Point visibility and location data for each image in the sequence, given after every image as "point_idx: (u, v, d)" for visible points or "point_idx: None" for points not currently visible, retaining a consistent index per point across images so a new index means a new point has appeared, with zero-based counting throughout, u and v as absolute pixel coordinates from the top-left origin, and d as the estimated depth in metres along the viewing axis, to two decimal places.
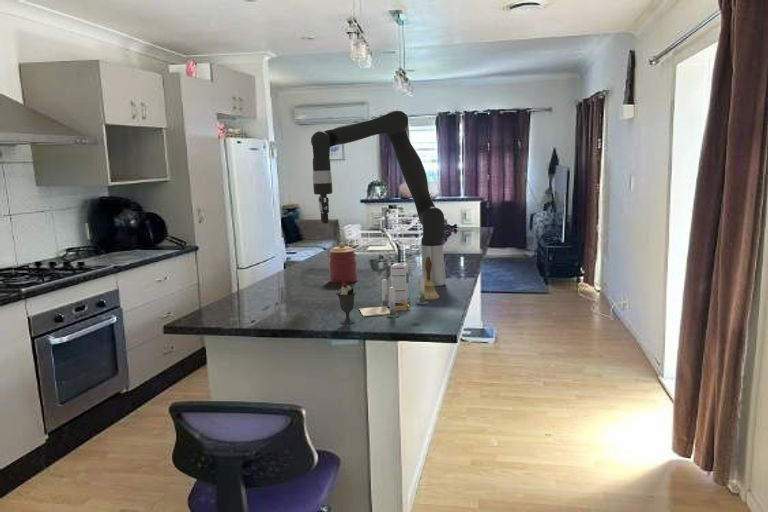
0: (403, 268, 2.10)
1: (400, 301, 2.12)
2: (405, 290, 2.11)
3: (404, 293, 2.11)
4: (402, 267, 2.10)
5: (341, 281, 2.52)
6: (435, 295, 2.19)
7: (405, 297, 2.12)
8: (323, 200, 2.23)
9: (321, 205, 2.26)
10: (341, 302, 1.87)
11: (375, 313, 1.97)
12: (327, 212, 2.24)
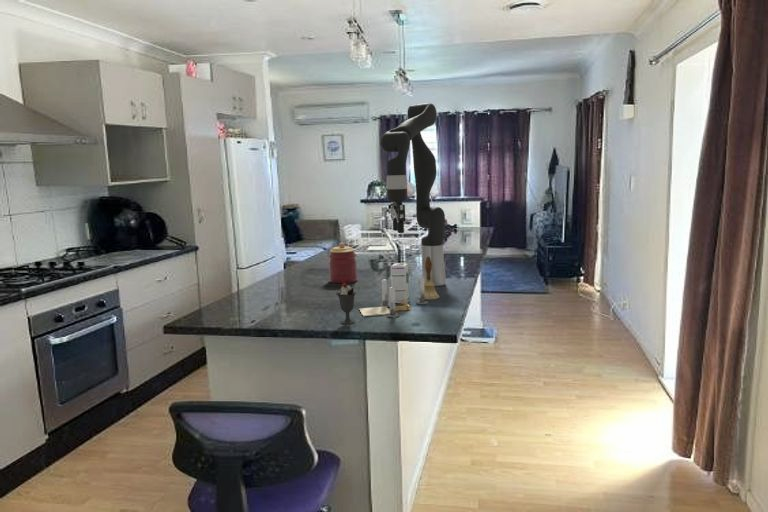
0: (403, 268, 2.10)
1: (400, 301, 2.12)
2: (405, 290, 2.11)
3: (404, 293, 2.11)
4: (402, 267, 2.10)
5: (341, 281, 2.52)
6: (435, 295, 2.19)
7: (405, 297, 2.12)
8: (400, 208, 2.03)
9: (396, 213, 2.06)
10: (341, 302, 1.87)
11: (375, 313, 1.97)
12: (403, 221, 2.04)
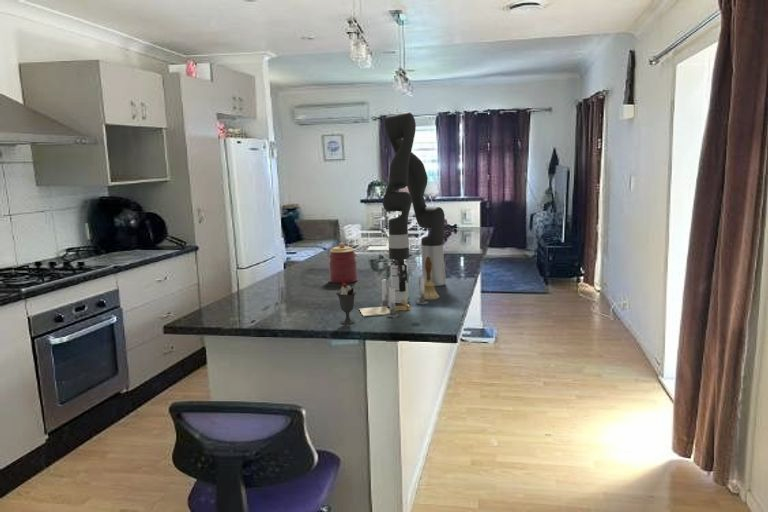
0: None
1: (400, 301, 2.12)
2: (405, 290, 2.11)
3: (404, 293, 2.11)
4: None
5: (341, 281, 2.52)
6: (435, 295, 2.19)
7: (405, 297, 2.11)
8: (401, 268, 2.06)
9: None
10: (341, 302, 1.87)
11: (375, 313, 1.97)
12: (405, 280, 2.08)
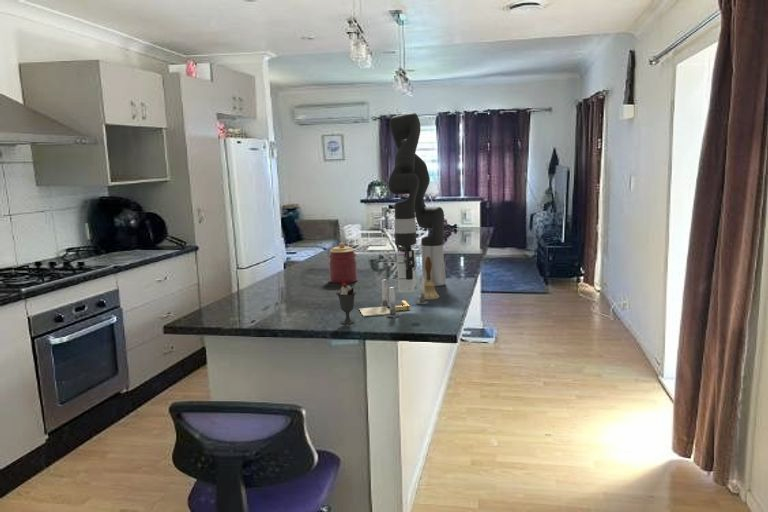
0: None
1: (407, 290, 1.99)
2: None
3: (411, 281, 1.99)
4: None
5: (341, 281, 2.52)
6: (435, 295, 2.19)
7: (412, 286, 1.99)
8: (408, 254, 1.93)
9: (404, 258, 1.97)
10: (341, 302, 1.87)
11: (375, 313, 1.97)
12: (412, 267, 1.95)
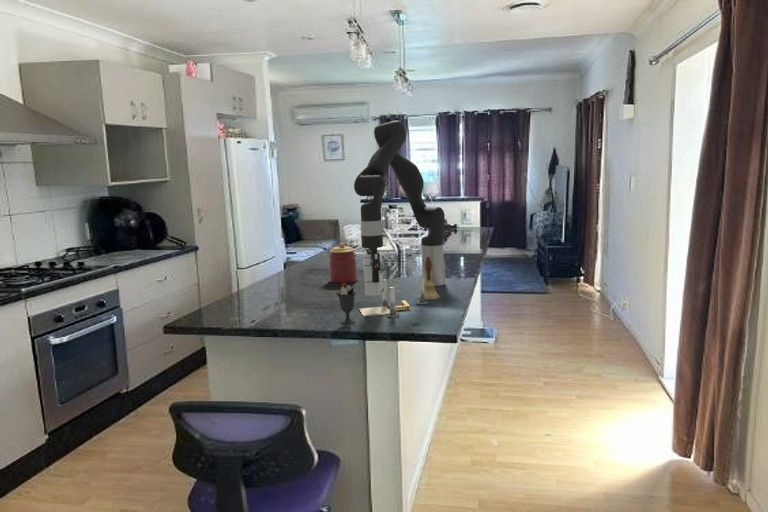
0: None
1: (373, 293, 1.97)
2: (379, 281, 1.96)
3: (378, 284, 1.97)
4: None
5: (341, 281, 2.52)
6: (435, 295, 2.19)
7: (378, 289, 1.97)
8: (374, 257, 1.91)
9: None
10: (341, 302, 1.87)
11: (375, 313, 1.97)
12: (378, 270, 1.93)
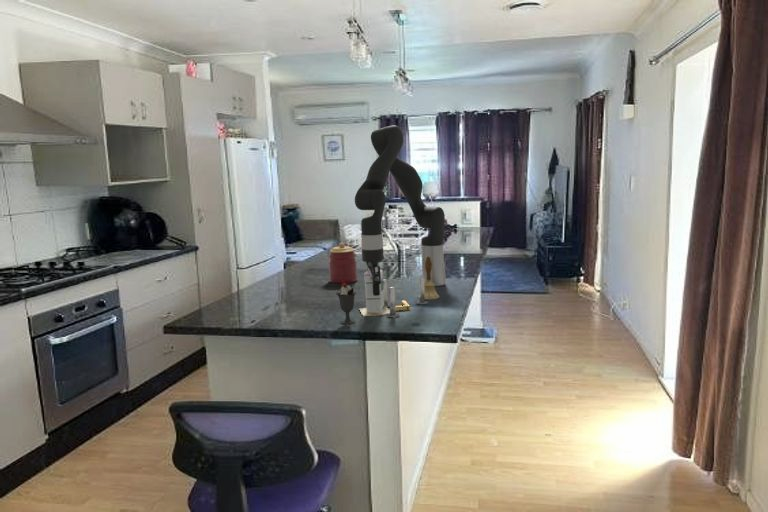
0: None
1: (375, 310, 1.98)
2: (380, 298, 1.97)
3: (379, 301, 1.97)
4: (376, 273, 1.96)
5: (341, 281, 2.52)
6: (435, 295, 2.19)
7: (380, 306, 1.98)
8: (374, 270, 1.92)
9: (371, 274, 1.95)
10: (341, 302, 1.87)
11: (375, 313, 1.97)
12: (379, 283, 1.93)
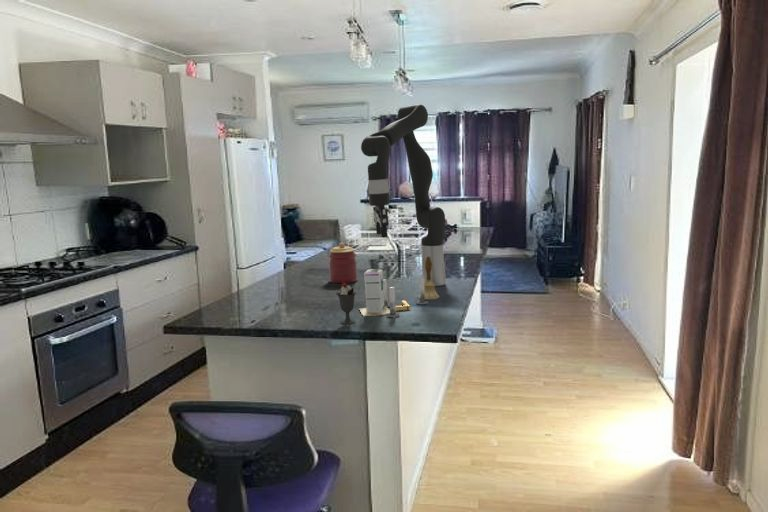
0: (378, 275, 1.96)
1: (375, 310, 1.98)
2: (380, 298, 1.97)
3: (379, 301, 1.97)
4: (376, 273, 1.96)
5: (341, 281, 2.52)
6: (435, 295, 2.19)
7: (380, 306, 1.98)
8: (382, 212, 2.03)
9: (379, 217, 2.06)
10: (341, 302, 1.87)
11: (375, 313, 1.97)
12: (386, 225, 2.04)
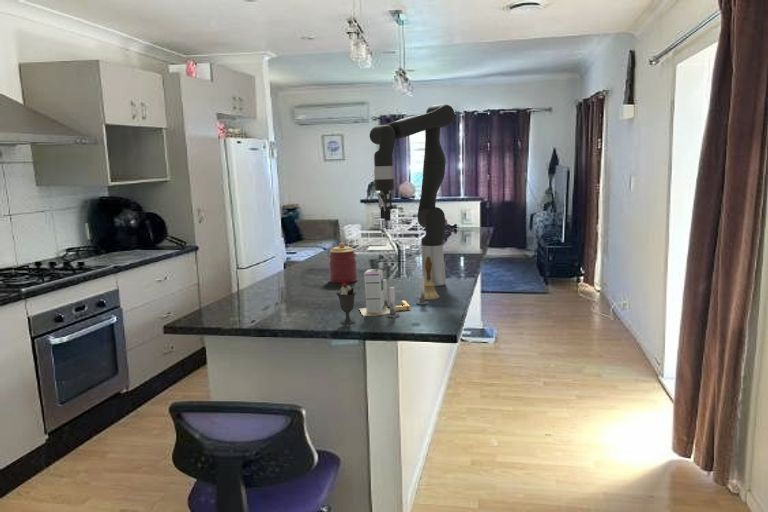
0: (378, 275, 1.96)
1: (375, 310, 1.98)
2: (380, 298, 1.97)
3: (379, 301, 1.97)
4: (376, 273, 1.96)
5: (341, 281, 2.52)
6: (435, 295, 2.19)
7: (380, 306, 1.98)
8: (386, 196, 2.15)
9: (383, 202, 2.19)
10: (341, 302, 1.87)
11: (375, 313, 1.97)
12: (390, 209, 2.17)
